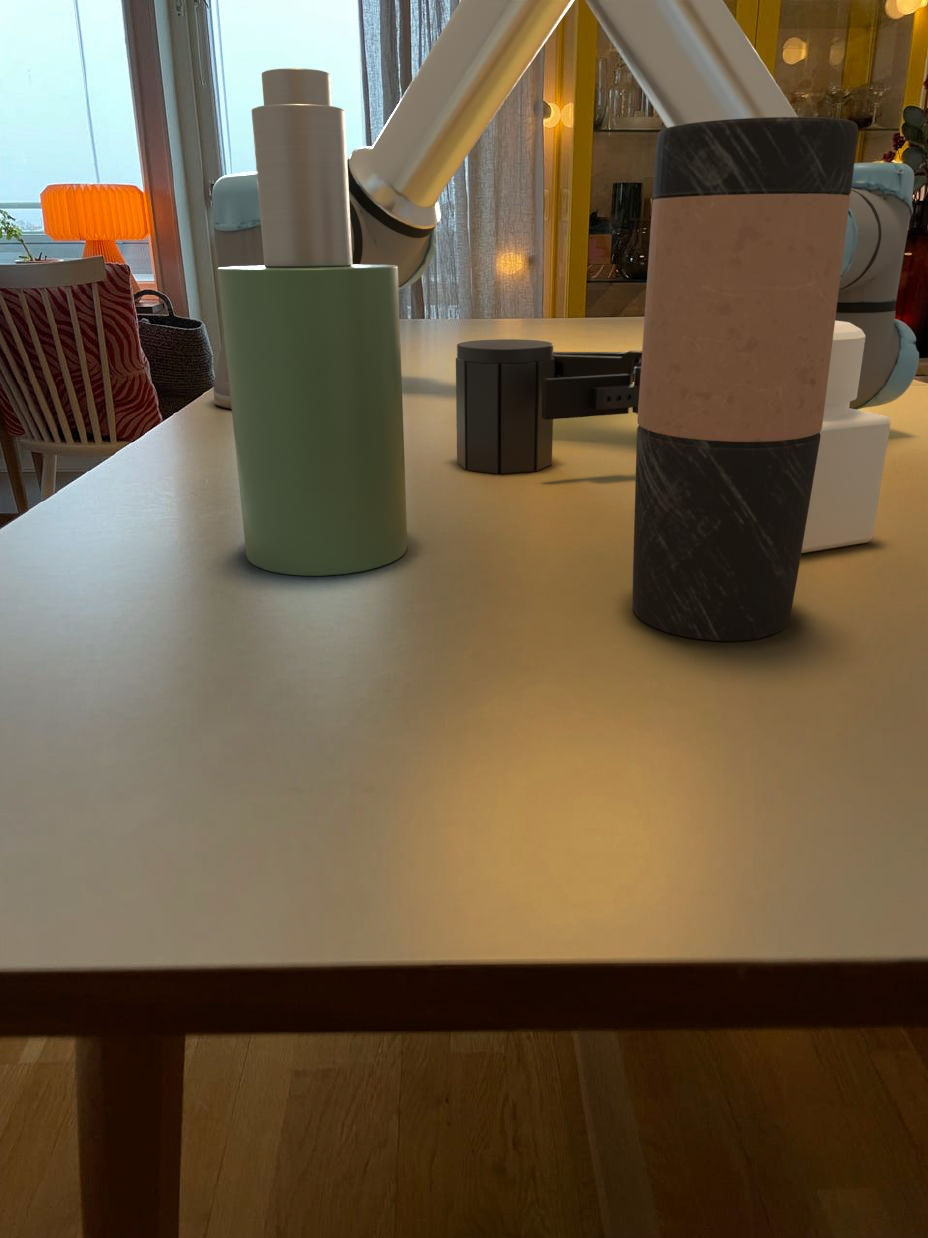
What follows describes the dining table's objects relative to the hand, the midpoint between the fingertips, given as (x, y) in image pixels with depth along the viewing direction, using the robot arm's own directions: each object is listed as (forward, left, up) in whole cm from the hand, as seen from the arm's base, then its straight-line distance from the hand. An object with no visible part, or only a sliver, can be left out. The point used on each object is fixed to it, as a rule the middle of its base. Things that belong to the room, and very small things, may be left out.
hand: (506, 386), depth 71 cm
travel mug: (+33, 0, -6) cm, 34 cm away
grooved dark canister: (0, 0, -6) cm, 6 cm away
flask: (+18, -16, -6) cm, 25 cm away
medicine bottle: (+23, +10, -6) cm, 26 cm away
